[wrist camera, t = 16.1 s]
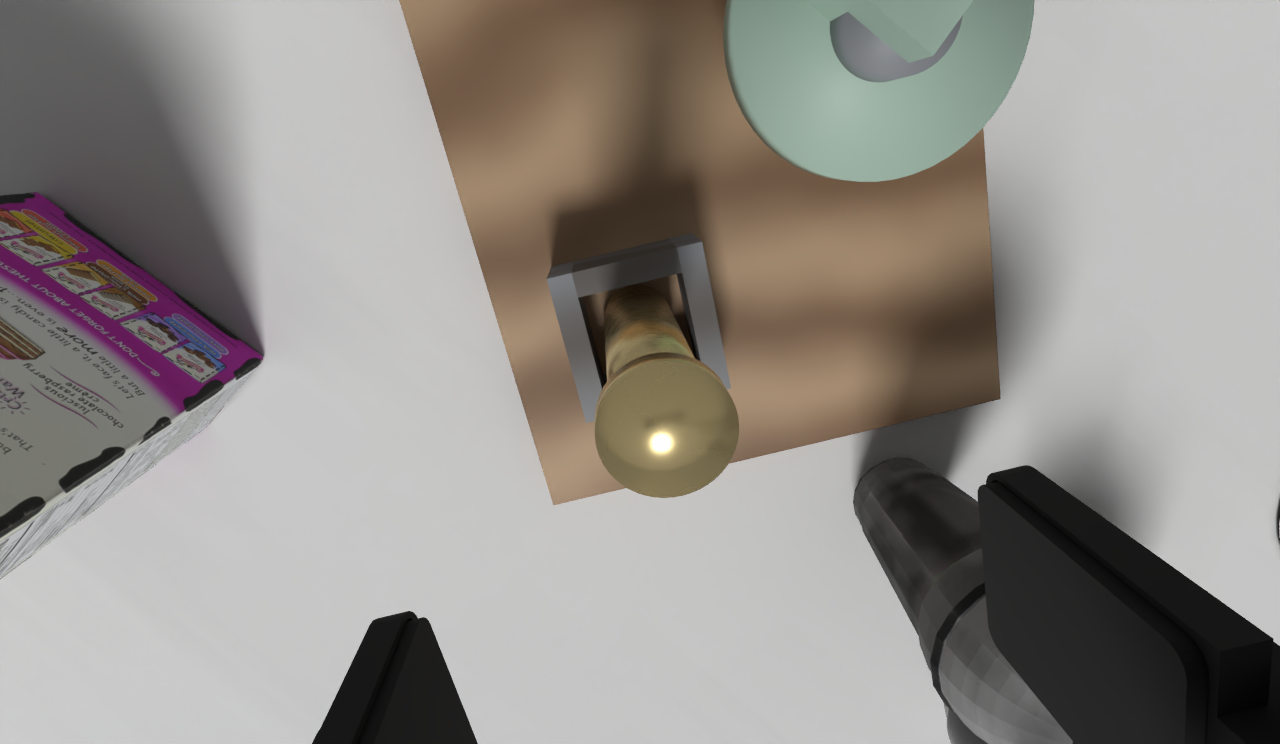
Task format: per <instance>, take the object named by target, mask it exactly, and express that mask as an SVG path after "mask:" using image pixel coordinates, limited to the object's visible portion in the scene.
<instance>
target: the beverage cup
mask: <svg viewBox="0 0 1280 744" xmlns="http://www.w3.org/2000/svg"><path fill="white" fill-rule="evenodd" d="M853 504H854V509H855V514H856V516H857V518H858V519H859V521H860V524H861V526H862V529H863V532H864V534H865V536H866V538H867V540H868V542H869V543H870V545H871V547H872V549H873V551H874V553H875V555H876V557H877V559H878V560H879V562H880V564H881V566H882V568H883V570H884V572H885V574H886V575H887V577H888V579H889V581H890V583H891V585H892V587H893V589H894V590H895V592H896V594H897V596H898V598H899V600H900V602H901V604H902V606H903V607H904V609H905V611H906V613H907V615H908V617H909V619H910V621H911V622H912V624H913V626H914V628H915V630H916V632H917V634H918V636H919V640H920V646H921V649H922V651H923V654H924V657H925V659H926V662H927V665H928V668H929V669H930V671H931V673H932V680H933V686H934V687H935V689H936V691H937V692H938V694H939V695H940V697H941V699H942V700H943V702H944V703H945V705H946V706H947V707H948V708H949V709H950V710H951V711H952V712H954V713H955V714H956V715H958V716H959V718H960V719H961V720H962V722H963V723H964V724H965V725H966V726H967V727H968V728H969V729H970V730H971V731H972V732H973V733H974V734H975V735H977V736H978V737H979V738H981V739H982V740H984V741H985V742H986V743H988V744H1075V743H1074V742H1073V741H1072V740H1071V738H1070V737H1069V736H1068V735H1067V733H1066V732H1065V731H1064V730H1063V729H1062V727H1061V726H1060V725H1059V724H1058V722H1057V721H1056V720H1055V719H1054V717H1053V716H1052V715H1051V714H1050V713H1049V711H1048V710H1047V709H1046V708H1045V706H1044V705H1043V704H1042V703H1041V702H1040V700H1039V699H1038V698H1037V697H1036V695H1035V694H1034V693H1033V692H1032V691H1031V689H1030V688H1029V687H1028V686H1027V684H1026V683H1025V682H1024V681H1023V679H1022V678H1021V677H1020V676H1019V675H1018V673H1017V672H1016V671H1015V670H1014V668H1013V667H1012V666H1011V665H1010V664H1009V662H1008V661H1007V660H1006V659H1005V657H1004V656H1003V655H1002V654H1001V652H1000V651H999V650H998V648H997V647H996V645H995V643H994V641H993V639H992V637H991V634H990V631H989V627H988V618H987V606H986V593H985V580H984V568H983V555H982V542H981V530H980V517H979V505H978V502H977V501H976V500H975V499H973V498H972V497H970V496H969V495H968V494H966V493H965V492H963V491H962V490H961V489H959V488H958V487H956V486H955V485H954V484H952V483H951V482H950V481H948V480H947V479H945V478H944V477H943V476H941V475H940V474H938V473H935V472H933V471H932V470H930V469H929V468H927V467H926V466H924V465H923V464H922V463H920V462H917V461H914V460H912V459H893V460H889V461H885V462H882V463H881V464H879V465H877V466H875V467H874V468H872V469H871V470H870V471H869V472H868V473H867V474H866V475H865V476H864V477H863V478H862V479H861V481H860V483H859V485H858V486H857V488H856V490H855V495H854V501H853Z"/></svg>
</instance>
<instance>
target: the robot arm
mask: <svg viewBox="0 0 1280 744" xmlns="http://www.w3.org/2000/svg"><path fill="white" fill-rule="evenodd" d="M978 505H979V517H980V530H981V542H982V555H983V568H984V580H985V593H986V606H987V618H988V627H989V631H990V634H991V637H992V639H993V641H994V643H995V645H996V647H997V648H998V650H999V651H1000V652H1001V654H1002V655H1003V656H1004V657H1005V659H1006V660H1007V661H1008V662H1009V664H1010V665H1011V666H1012V667H1013V668H1014V670H1015V671H1016V672H1017V673H1018V675H1019V676H1020V677H1021V678H1022V679H1023V681H1024V682H1025V683H1026V684H1027V686H1028V687H1029V688H1030V689H1031V691H1032V692H1033V693H1034V694H1035V695H1036V697H1037V698H1038V699H1039V700H1040V702H1041V703H1042V704H1043V705H1044V706H1045V708H1046V709H1047V710H1048V711H1049V713H1050V714H1051V715H1052V716H1053V717H1054V719H1055V720H1056V721H1057V722H1058V724H1059V725H1060V726H1061V727H1062V729H1063V730H1064V731H1065V732H1066V733H1067V735H1068V736H1069V737H1070V738H1071V740H1072V741H1073V742H1074V743H1075V744H1280V646H1279V645H1277V644H1276V643H1275V642H1273V638H1271V637H1270V636H1269V635H1267V634H1266V633H1264V632H1263V631H1262V630H1260V629H1259V628H1257V627H1256V626H1255V625H1253V624H1252V623H1250V622H1249V621H1248V620H1246V619H1245V618H1243V617H1242V616H1241V615H1239V614H1238V613H1236V612H1235V611H1234V610H1232V609H1231V608H1229V607H1228V606H1227V605H1225V604H1224V603H1222V602H1221V601H1220V600H1218V599H1217V598H1215V597H1214V596H1212V595H1211V594H1210V593H1208V592H1207V591H1205V590H1204V589H1203V588H1201V587H1200V586H1198V585H1197V584H1196V583H1194V582H1193V581H1191V580H1190V579H1189V578H1187V577H1186V576H1184V575H1183V574H1182V573H1180V572H1179V571H1177V570H1176V569H1175V568H1173V567H1172V566H1170V565H1169V564H1168V563H1166V562H1165V561H1163V560H1162V559H1161V558H1159V557H1158V556H1156V555H1155V554H1154V553H1152V552H1151V551H1149V550H1148V549H1147V548H1145V547H1144V546H1142V545H1141V544H1140V543H1138V542H1137V541H1135V540H1134V539H1133V538H1131V537H1130V536H1128V535H1127V534H1126V533H1124V532H1123V531H1121V530H1120V529H1119V528H1117V527H1116V526H1114V525H1113V524H1112V523H1110V522H1109V521H1107V520H1106V519H1105V518H1103V517H1102V516H1100V515H1099V514H1098V513H1096V512H1095V511H1093V510H1092V509H1091V508H1089V507H1088V506H1086V505H1085V504H1084V503H1082V502H1081V501H1079V500H1078V499H1077V498H1075V497H1074V496H1072V495H1071V494H1070V493H1068V492H1067V491H1065V490H1064V489H1063V488H1061V487H1060V486H1058V485H1057V484H1056V483H1054V482H1053V481H1051V480H1050V479H1049V478H1047V477H1046V476H1044V475H1043V474H1042V473H1040V472H1039V471H1037V470H1036V469H1035V468H1033V467H1031V466H1020V467H1016V468H1012V469H1008V470H1004V471H999V472H995V473H991V474H990V475H989V476H988V478H987V481H986V485H981V486H980V487H979V489H978ZM1279 536H1280V520H1279ZM312 744H478V743H477V741H476V738H475V736H474V733H473V731H472V728H471V726H470V723H469V721H468V718H467V716H466V713H465V711H464V708H463V705H462V703H461V700H460V698H459V695H458V693H457V690H456V688H455V685H454V683H453V680H452V678H451V675H450V673H449V670H448V668H447V665H446V663H445V660H444V658H443V655H442V652H441V650H440V647H439V645H438V642H437V640H436V637H435V635H434V632H433V630H432V627H431V625H430V623H429V621H428V620H427V619H426V618H424V617H423V618H419V619H418V618H417V616H416V615H415V614H414V613H413V612H411V611H408V612H403V613H399V614H395V615H391V616H386V617H382V618H378V619H375V620H373V621H372V623H371V624H370V626H369V628H368V630H367V632H366V634H365V636H364V638H363V641H362V643H361V645H360V647H359V649H358V651H357V653H356V655H355V657H354V659H353V662H352V664H351V666H350V668H349V670H348V672H347V674H346V676H345V678H344V680H343V683H342V685H341V687H340V689H339V691H338V693H337V695H336V697H335V699H334V701H333V703H332V706H331V708H330V710H329V712H328V714H327V716H326V718H325V720H324V722H323V724H322V727H321V728H320V730H319V731H318V733H317V735H316V737H315V739H314V741H313V743H312Z"/></svg>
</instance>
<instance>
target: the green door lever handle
mask: <svg viewBox="0 0 1280 744" xmlns="http://www.w3.org/2000/svg"><path fill="white" fill-rule="evenodd" d="M1033 15H1034V0H727V1H726V8H725V14H724V27H723V45H724V57H725V64H726V69H727V74H728V79H729V82H730V85H731V88H732V91H733V94H734V97H735V99H736V101H737V103H738V105H739V108H740V110H741V112H742V114H743V116H744V117H745V119H746V120H747V122H748V123H749V125H750V126H751V128H752V129H753V131H754V132H755V133H756V134H757V135H758V137H759V138H760V139H761V140H762V141H763V142H764V143H765V145H767V146H768V147H769V148H770V149H771V150H772V151H773V152H775V153H776V154H777V155H778V156H779V157H781V158H783V159H784V160H786V161H787V162H789V163H790V164H792V165H793V166H796V167H798V168H800V169H802V170H804V171H806V172H809V173H812V174H815V175H819V176H822V177H825V178H832V179H839V180H847V181H857V182H879V181H886V180H894V179H898V178H902V177H905V176H909V175H913V174H915V173H918V172H920V171H923V170H925V169H927V168H930V167H932V166H934V165H936V164H937V163H939V162H941V161H943V160H944V159H946V158H948V157H949V156H951V155H952V154H953V153H955V152H956V151H957V150H959V149H960V148H961V147H963V146H964V145H965V144H966V143H968V142H969V141H970V140H971V139H972V138H973V137H974V136H975V135H976V134H977V133H978V132H979V131H980V130H981V129H982V128H983V127H984V126H985V124H986V123H987V122H988V121H989V120H990V119H991V117H992V116H993V115H994V114H995V112H996V111H997V109H998V108H999V106H1000V105H1001V103H1002V102H1003V100H1004V99H1005V97H1006V95H1007V94H1008V92H1009V90H1010V88H1011V86H1012V84H1013V82H1014V80H1015V79H1016V76H1017V74H1018V71H1019V69H1020V66H1021V64H1022V61H1023V59H1024V56H1025V52H1026V49H1027V45H1028V41H1029V38H1030V33H1031V27H1032V21H1033Z"/></svg>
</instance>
